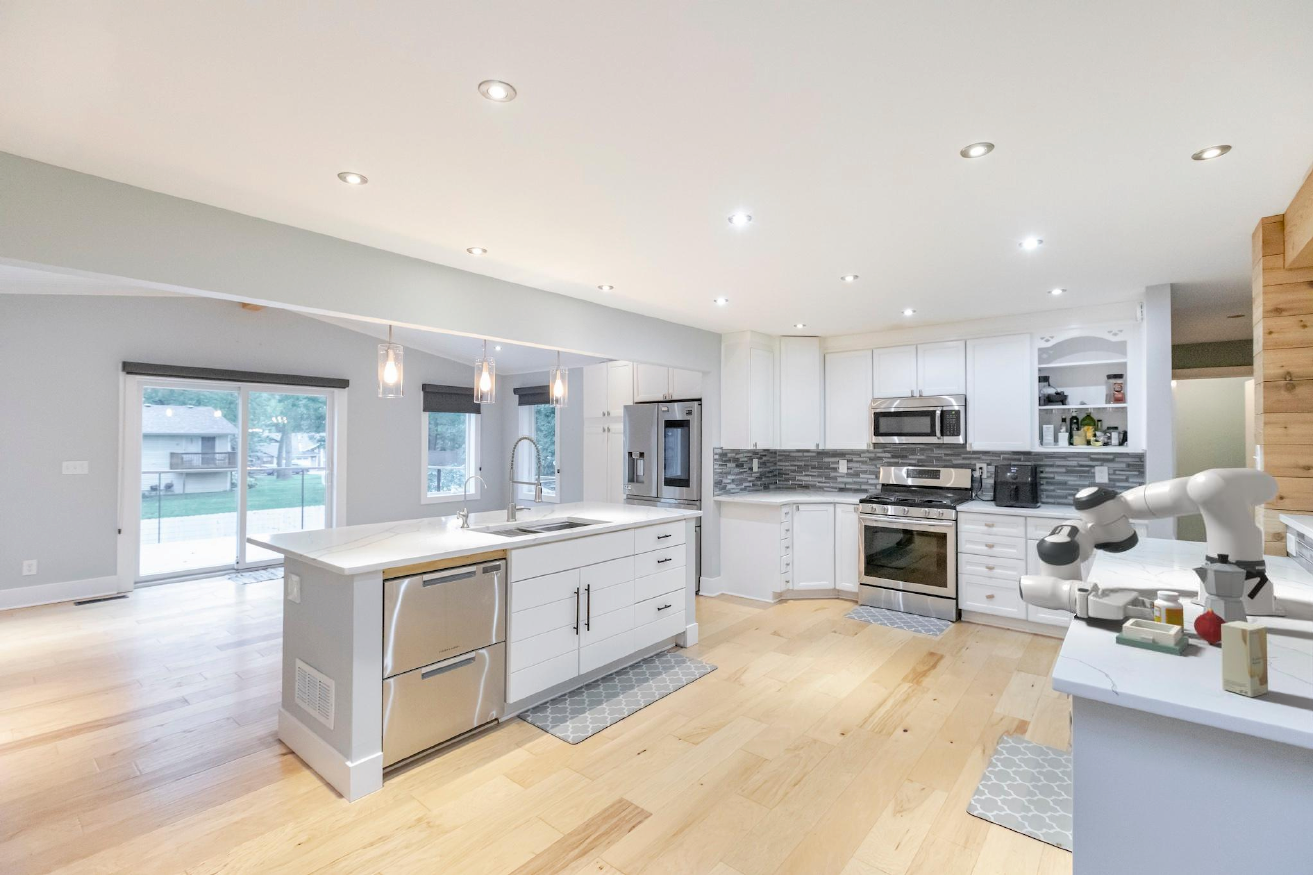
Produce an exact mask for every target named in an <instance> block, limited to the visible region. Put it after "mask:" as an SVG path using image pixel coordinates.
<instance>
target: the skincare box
mask: <svg viewBox="0 0 1313 875" xmlns="http://www.w3.org/2000/svg"><path fill="white" fill-rule="evenodd" d="M1267 629H1268V628H1267V626H1266V625H1265V626H1264V625H1259V624H1257V623H1251V622H1248V623H1247V622H1242V621H1235V622H1228V623H1225V624H1221V633H1222V641H1221V668H1222V669H1221V674H1222V675H1221V676H1222V683H1221V684H1222V690H1225V691H1228V692H1229V691H1230V692H1232V693H1237V694H1239V695H1243V696H1245V697H1249V698H1253V697H1257V696H1262V695H1265V694H1267V693H1268V692H1269V676H1268V673H1269V672H1268V635H1267V633H1268V632H1267Z"/></svg>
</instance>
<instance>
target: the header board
mask: <svg viewBox="0 0 1313 875" xmlns="http://www.w3.org/2000/svg"><path fill="white" fill-rule="evenodd" d="M1189 638H1190V636H1187V635H1182V632H1181V626H1177V625H1171V624H1165V623H1159V622H1155V621H1153V620H1147V619H1146V620H1145V619H1140V618H1134V617H1131V618H1130V619H1129V620H1127V621H1126V622H1125V623H1124V624H1122V631H1121V632H1119V633H1118V634H1117V635H1116V636H1115V644H1119V645H1124V646H1129V647H1134V648H1138V649H1144V650H1149V651H1154V652H1158V653H1164V654H1168V653H1169V654H1170V655H1173V654H1175V656H1180V655H1181V654H1182V653H1183V651H1184V650H1185V649H1186V647H1188V645H1189V643H1190V640H1189ZM1179 654H1180V655H1179Z"/></svg>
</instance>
